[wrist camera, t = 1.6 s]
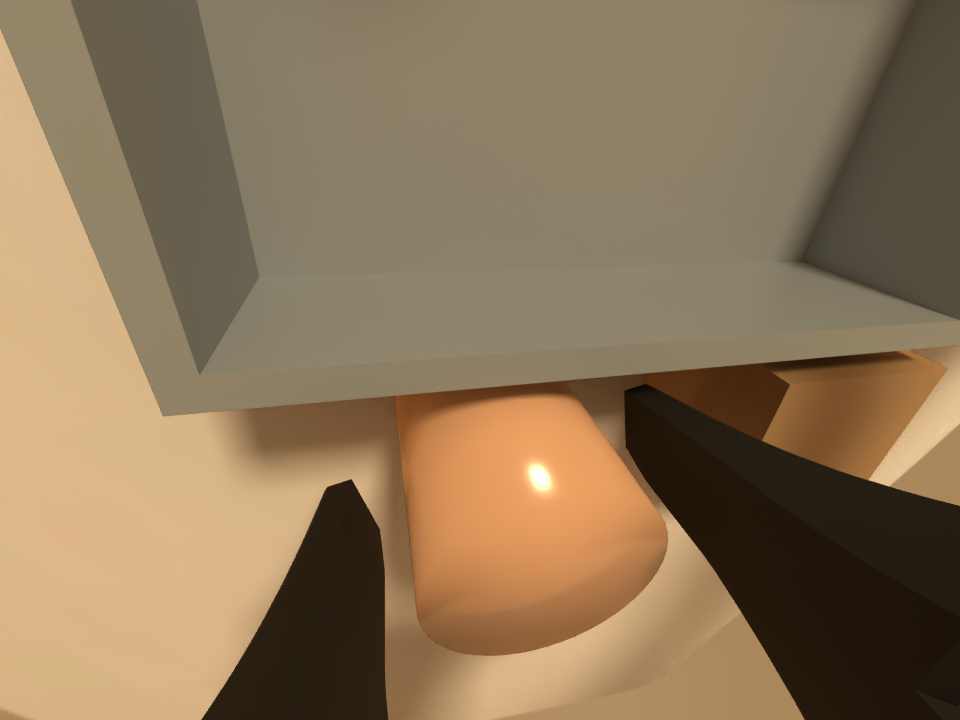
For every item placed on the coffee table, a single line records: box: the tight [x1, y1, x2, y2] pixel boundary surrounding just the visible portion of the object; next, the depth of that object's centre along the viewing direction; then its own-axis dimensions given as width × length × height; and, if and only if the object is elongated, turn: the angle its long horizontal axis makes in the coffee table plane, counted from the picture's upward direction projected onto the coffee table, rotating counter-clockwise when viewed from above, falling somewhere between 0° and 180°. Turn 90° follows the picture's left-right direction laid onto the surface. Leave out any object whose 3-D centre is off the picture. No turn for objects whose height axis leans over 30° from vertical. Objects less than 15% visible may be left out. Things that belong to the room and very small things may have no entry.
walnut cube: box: [643, 350, 948, 480], centre depth 14 cm, size 5×5×5 cm
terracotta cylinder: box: [395, 381, 668, 656], centre depth 11 cm, size 5×5×7 cm
